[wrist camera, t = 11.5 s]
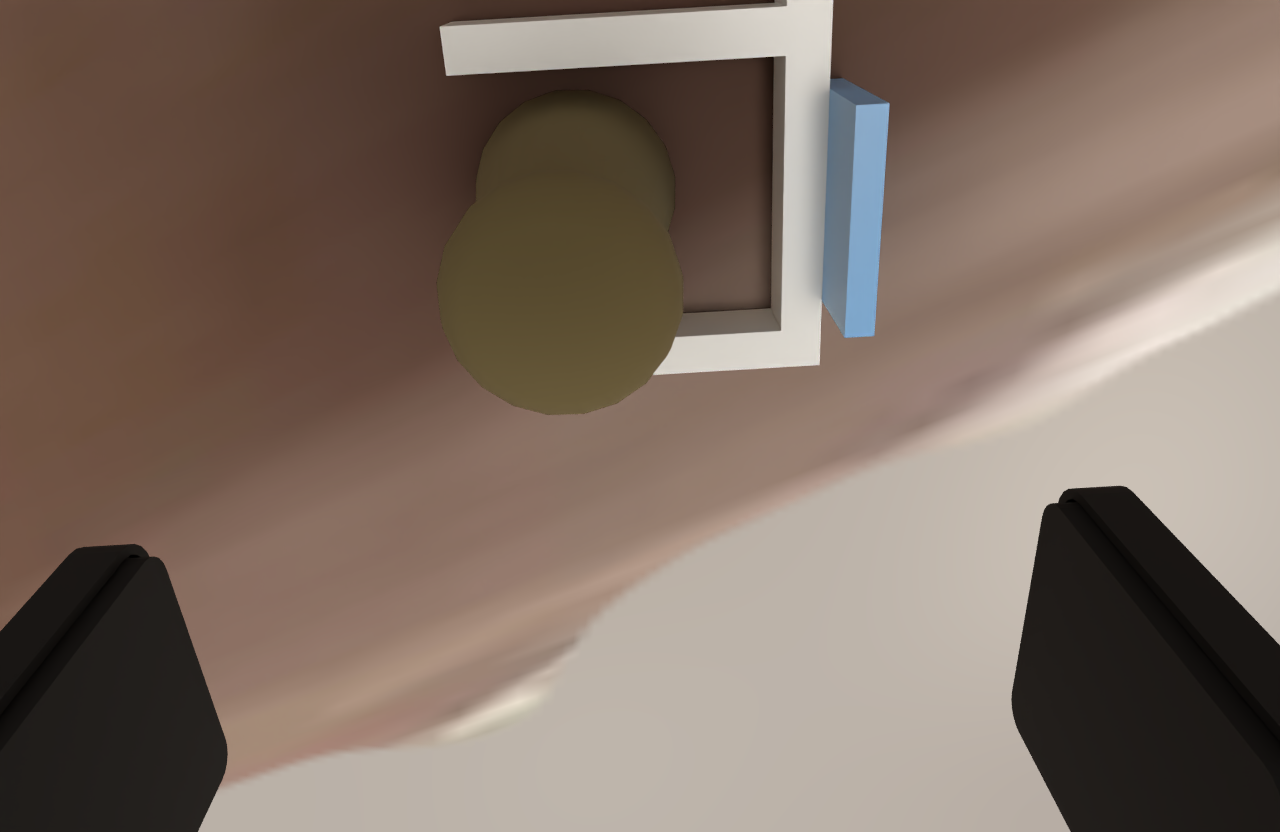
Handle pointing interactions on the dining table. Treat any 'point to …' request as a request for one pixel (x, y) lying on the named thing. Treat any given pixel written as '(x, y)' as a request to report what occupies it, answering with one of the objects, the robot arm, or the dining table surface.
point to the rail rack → (802, 158)
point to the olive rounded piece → (565, 257)
